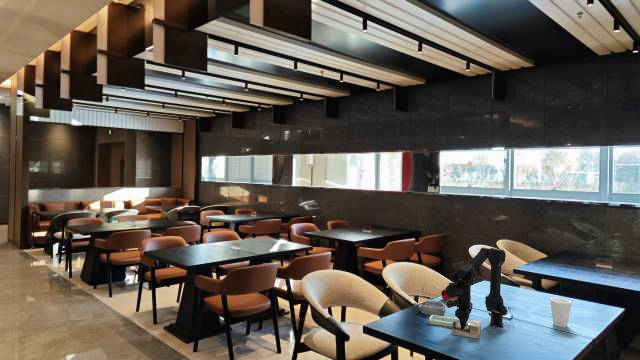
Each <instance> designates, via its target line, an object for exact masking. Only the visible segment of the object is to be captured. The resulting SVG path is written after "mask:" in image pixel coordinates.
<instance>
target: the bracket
mask: <svg viewBox="0 0 640 360" xmlns="http://www.w3.org/2000/svg"><path fill="white" fill-rule="evenodd" d="M469 324H470V331H466V330H461V329H455V328H451V335H457V336H461V337H468V338H473V339H477V340H478V339H479V340H480V338H481V335H482V321H481V320H477V319H476V320H475V319H471V322H470V323H469Z"/></svg>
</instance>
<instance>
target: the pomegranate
mask: <svg viewBox="0 0 640 360" xmlns="http://www.w3.org/2000/svg"><path fill="white" fill-rule="evenodd" d="M445 289H446V288H443V290H441V293H440V295H441V298H442V300H443V301H444V302H446V300H448V299H453V298H457V297H458V296H456V297H449V296H447V294H446V291H445Z"/></svg>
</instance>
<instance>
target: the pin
mask: <svg viewBox="0 0 640 360" xmlns="http://www.w3.org/2000/svg"><path fill="white" fill-rule="evenodd" d="M470 324H471V323H468V322H467V323H466V325H465V327H464V329H461V326H460V322H456V321H453V328H455V329H461V330H466V331H470ZM453 328H452V329H453Z"/></svg>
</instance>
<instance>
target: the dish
mask: <svg viewBox="0 0 640 360" xmlns="http://www.w3.org/2000/svg"><path fill="white" fill-rule="evenodd" d="M418 309H419V310H420V313H421V314H424V315H427V316H431V315H437V316H444V315H445V313H446V311H447V310H446V304H444V303H442V302H440V301H436V300H427V301H426V302H425V304H424V305H423V304H422V303H420V304H419V305H418Z"/></svg>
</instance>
